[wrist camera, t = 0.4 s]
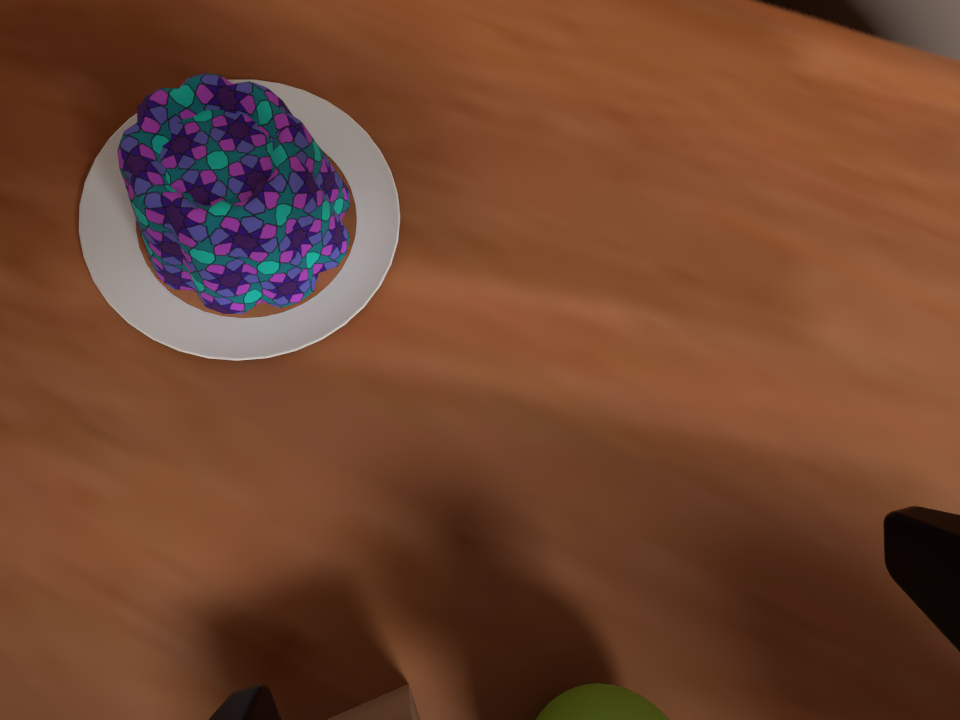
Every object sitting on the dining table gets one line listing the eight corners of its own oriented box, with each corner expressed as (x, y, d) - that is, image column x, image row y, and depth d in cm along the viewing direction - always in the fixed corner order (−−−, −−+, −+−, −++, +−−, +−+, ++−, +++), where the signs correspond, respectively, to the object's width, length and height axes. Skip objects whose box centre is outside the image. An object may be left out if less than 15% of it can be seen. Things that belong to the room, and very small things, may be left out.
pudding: (442, 307, 24) (455, 256, 19) (137, 410, 21) (58, 383, 16) (344, 64, 26) (332, -42, 21) (53, 131, 23) (-41, 29, 18)
